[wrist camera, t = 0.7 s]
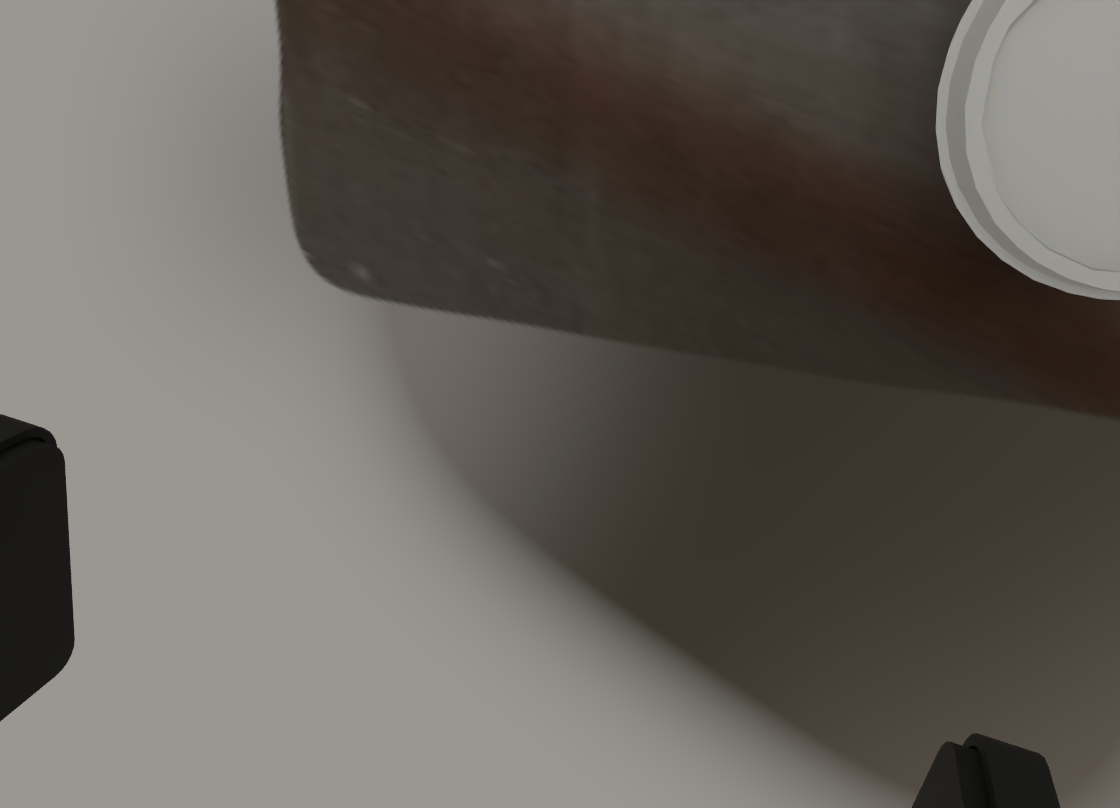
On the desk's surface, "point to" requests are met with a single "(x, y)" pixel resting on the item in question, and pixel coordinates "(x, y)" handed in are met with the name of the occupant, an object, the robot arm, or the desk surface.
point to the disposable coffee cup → (1037, 137)
